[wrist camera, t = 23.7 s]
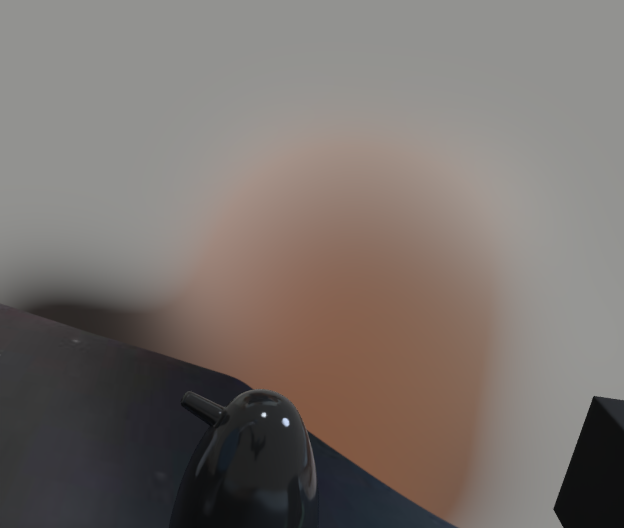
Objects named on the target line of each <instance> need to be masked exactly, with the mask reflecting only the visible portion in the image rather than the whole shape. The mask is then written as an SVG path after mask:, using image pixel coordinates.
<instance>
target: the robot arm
mask: <svg viewBox="0 0 624 528" xmlns="http://www.w3.org/2000/svg"><path fill="white" fill-rule="evenodd" d="M554 511H555V513H556V515H557V517H558V519H559V520H560V522H561V524H562V526H563V527H564V528H624V400H617V399H611V398H604V397H597V396H594V397H593V399H592V402H591V405H590V408H589V411H588V413H587V416H586V419H585V422H584V425H583V427H582V430H581V433H580V436H579V439H578V441H577V444H576V447H575V450H574V453H573V455H572V458H571V461H570V464H569V467H568V469H567V472H566V475H565V478H564V481H563V484H562V486H561V489H560V492H559V495H558V498H557V500H556V503H555V506H554Z"/></svg>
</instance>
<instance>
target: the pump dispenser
mask: <svg viewBox="0 0 624 528" xmlns="http://www.w3.org/2000/svg"><path fill="white" fill-rule="evenodd" d="M181 406H182V407H184V408H185V409H187V410H188V411H190V412H191V413H192V414H194V415H195V416H197V417H198V418H200V419H201V420H203V421H204V422H206V423H207V424H208V425H210V427H209V428H208V430H207V431H206V432H205V434H204V435H203V437H202V439H201V440H200V442H199V444H198V445H197V447H196V449H195V451H194V453H193V455H192V457H191V459H190V461H189V463H188V466H187V468H186V470H185V473H184V475H183V478H182V481H181V484H180V487H179V490H178V493H177V496H176V500H175V503H174V507H173V511H172V514H171V519H170V524H169V528H318V525H319V490H318V480H317V472H316V466H315V461H314V456H313V452H312V447H311V443H310V440H309V436H308V433H307V430H306V427H305V425H304V422H303V420H302V418H301V416H300V414H299V412H298V410H297V409H296V407H295V406H294V405H293V404H292V402H291V401H289V400H288V399H287V398H286V397H284V396H283V395H281V394H279V393H277V392H274V391H271V390H265V389H256V390H250V391H247V392H244V393H242V394H240V395H239V396H237V397H236V398H234V399H233V400H232V401H231V402H230V403H229V404H228V405H227V406H226V407H222V406H220V405H218V404H216V403H214V402H212V401H210V400H207V399H205V398H203V397H201V396H199V395H197V394H195V393H193V392H190V391H188V392H186V393H185V394H184V396H183V398H182V400H181Z"/></svg>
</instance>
